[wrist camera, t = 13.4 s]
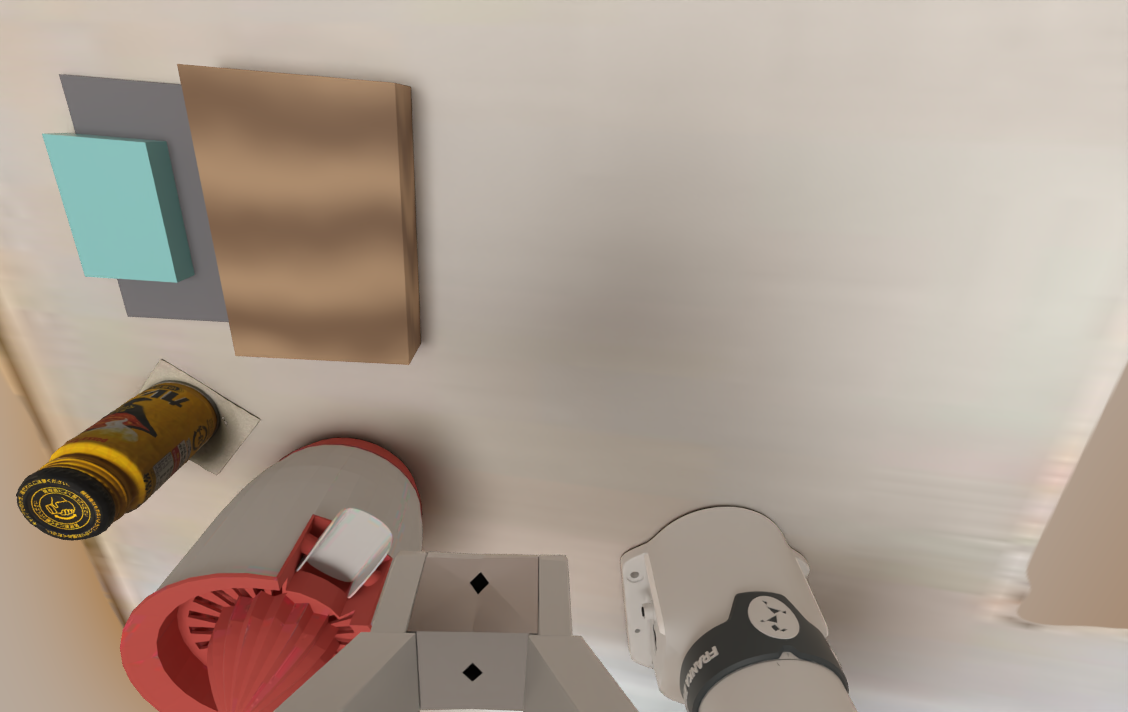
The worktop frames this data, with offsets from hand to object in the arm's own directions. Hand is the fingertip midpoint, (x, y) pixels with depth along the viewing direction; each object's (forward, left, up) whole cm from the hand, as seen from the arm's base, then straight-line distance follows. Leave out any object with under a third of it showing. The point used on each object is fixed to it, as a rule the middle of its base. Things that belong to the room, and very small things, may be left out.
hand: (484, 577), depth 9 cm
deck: (0, +14, -31) cm, 34 cm away
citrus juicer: (-23, +14, -31) cm, 41 cm away
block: (0, +27, -29) cm, 39 cm away
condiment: (-17, +27, -31) cm, 45 cm away
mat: (0, +25, -31) cm, 40 cm away
